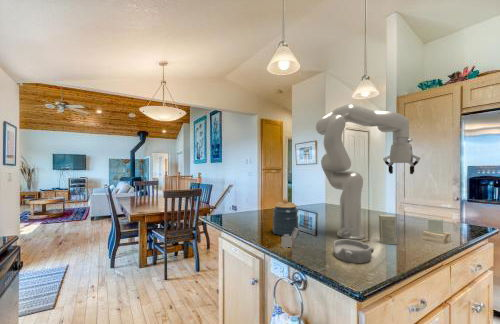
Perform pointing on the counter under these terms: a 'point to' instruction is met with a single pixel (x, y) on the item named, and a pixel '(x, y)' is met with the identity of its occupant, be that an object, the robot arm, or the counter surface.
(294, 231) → the lighter
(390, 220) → the skincare box
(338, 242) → the dish
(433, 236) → the beech block
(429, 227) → the grey-green block
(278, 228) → the canister
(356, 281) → the counter surface
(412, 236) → the counter surface
